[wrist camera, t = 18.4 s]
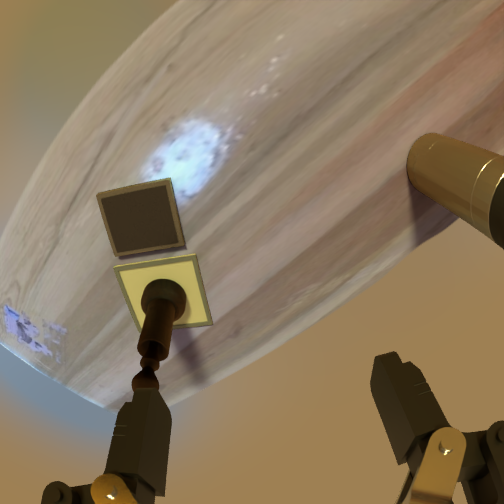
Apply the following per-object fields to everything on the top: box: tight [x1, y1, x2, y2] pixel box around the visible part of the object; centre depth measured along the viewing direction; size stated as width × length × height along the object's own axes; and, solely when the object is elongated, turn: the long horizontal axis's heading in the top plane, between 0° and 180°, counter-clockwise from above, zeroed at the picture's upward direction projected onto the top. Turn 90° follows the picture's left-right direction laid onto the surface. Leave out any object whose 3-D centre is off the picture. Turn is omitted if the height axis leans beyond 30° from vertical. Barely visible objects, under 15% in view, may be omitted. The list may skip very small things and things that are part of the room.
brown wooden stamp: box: [132, 279, 186, 391], centre depth 37 cm, size 7×6×18 cm
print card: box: [113, 254, 213, 333], centre depth 45 cm, size 12×12×1 cm
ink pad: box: [96, 178, 185, 257], centre depth 39 cm, size 10×9×1 cm
